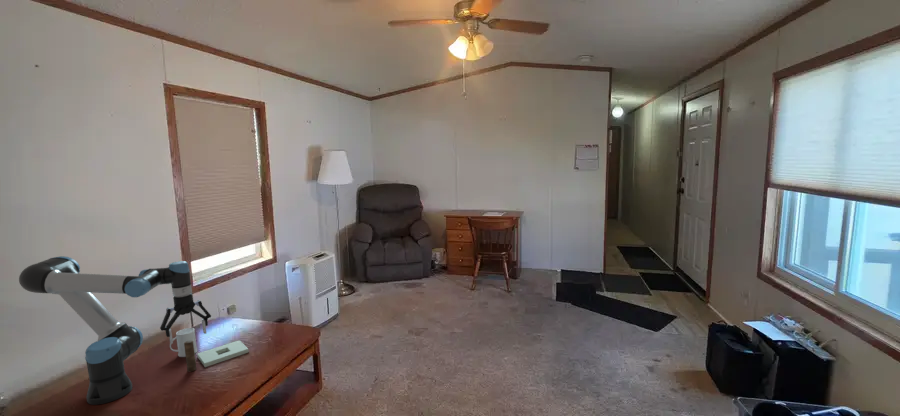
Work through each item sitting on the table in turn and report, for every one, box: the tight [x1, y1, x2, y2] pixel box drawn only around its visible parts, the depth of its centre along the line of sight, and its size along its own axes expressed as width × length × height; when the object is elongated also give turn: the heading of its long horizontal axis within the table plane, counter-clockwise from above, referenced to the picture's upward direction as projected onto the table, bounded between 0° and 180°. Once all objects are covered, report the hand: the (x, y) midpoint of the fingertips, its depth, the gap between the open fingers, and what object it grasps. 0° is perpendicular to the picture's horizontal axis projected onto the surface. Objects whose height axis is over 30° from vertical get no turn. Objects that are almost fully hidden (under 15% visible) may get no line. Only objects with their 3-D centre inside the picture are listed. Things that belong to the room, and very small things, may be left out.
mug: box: [169, 327, 198, 358], centre depth 209 cm, size 12×8×12 cm
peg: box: [184, 340, 197, 372], centre depth 193 cm, size 4×4×14 cm
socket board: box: [196, 339, 250, 368], centre depth 208 cm, size 20×14×2 cm
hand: (188, 337), depth 192 cm, fingers open, 13 cm apart
